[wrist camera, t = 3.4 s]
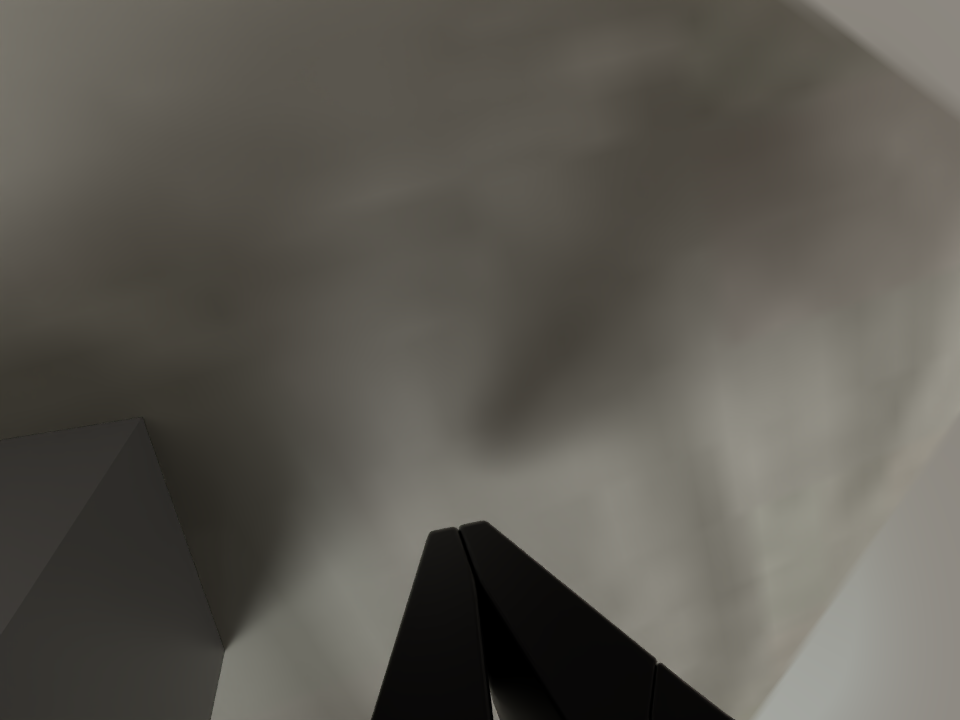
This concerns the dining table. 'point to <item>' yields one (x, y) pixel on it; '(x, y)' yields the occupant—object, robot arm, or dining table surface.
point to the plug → (98, 584)
